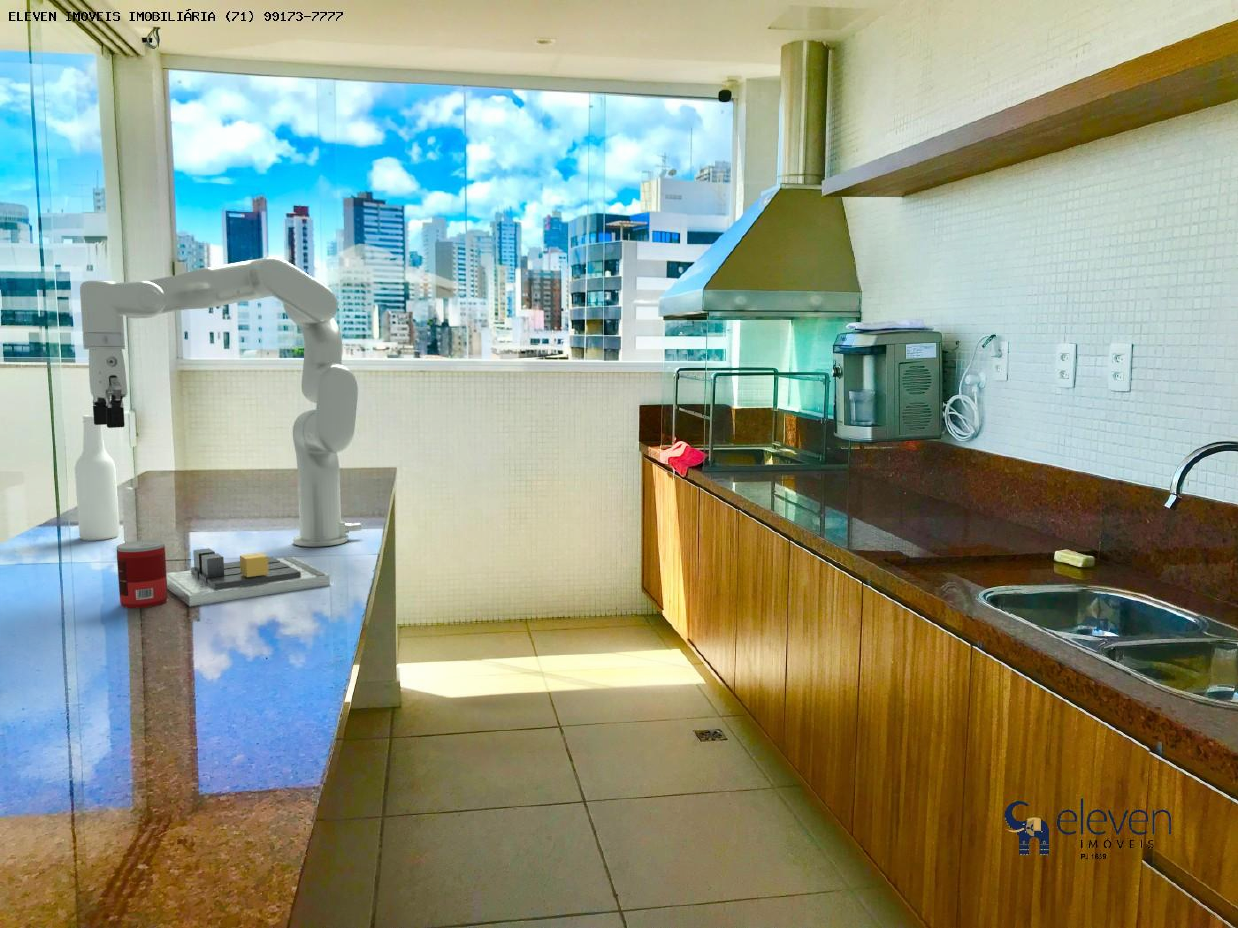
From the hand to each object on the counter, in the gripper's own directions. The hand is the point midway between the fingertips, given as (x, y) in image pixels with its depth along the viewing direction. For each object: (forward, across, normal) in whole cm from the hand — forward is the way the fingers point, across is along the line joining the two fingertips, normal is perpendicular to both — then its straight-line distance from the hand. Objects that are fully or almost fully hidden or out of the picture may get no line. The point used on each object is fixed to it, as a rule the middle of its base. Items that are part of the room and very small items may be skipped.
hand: (109, 425), depth 203 cm
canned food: (+31, -32, +4) cm, 45 cm away
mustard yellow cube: (+27, -37, -15) cm, 48 cm away
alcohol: (+31, +41, -7) cm, 52 cm away
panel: (+30, -31, -15) cm, 46 cm away
